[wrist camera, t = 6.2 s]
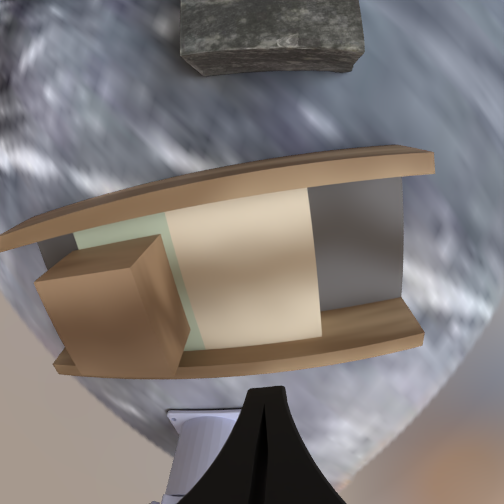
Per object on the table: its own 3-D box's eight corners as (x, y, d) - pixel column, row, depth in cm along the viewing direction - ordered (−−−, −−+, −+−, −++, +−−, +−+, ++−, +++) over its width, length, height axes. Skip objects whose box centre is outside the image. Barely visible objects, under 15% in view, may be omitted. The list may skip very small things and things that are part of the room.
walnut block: (190, 329, 18) (174, 377, 14) (107, 334, 18) (81, 374, 14) (160, 233, 15) (130, 267, 12) (72, 250, 16) (33, 282, 12)
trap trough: (398, 306, 20) (422, 345, 16) (83, 339, 22) (58, 374, 18) (396, 144, 16) (433, 152, 12) (32, 217, 18) (-7, 238, 14)
